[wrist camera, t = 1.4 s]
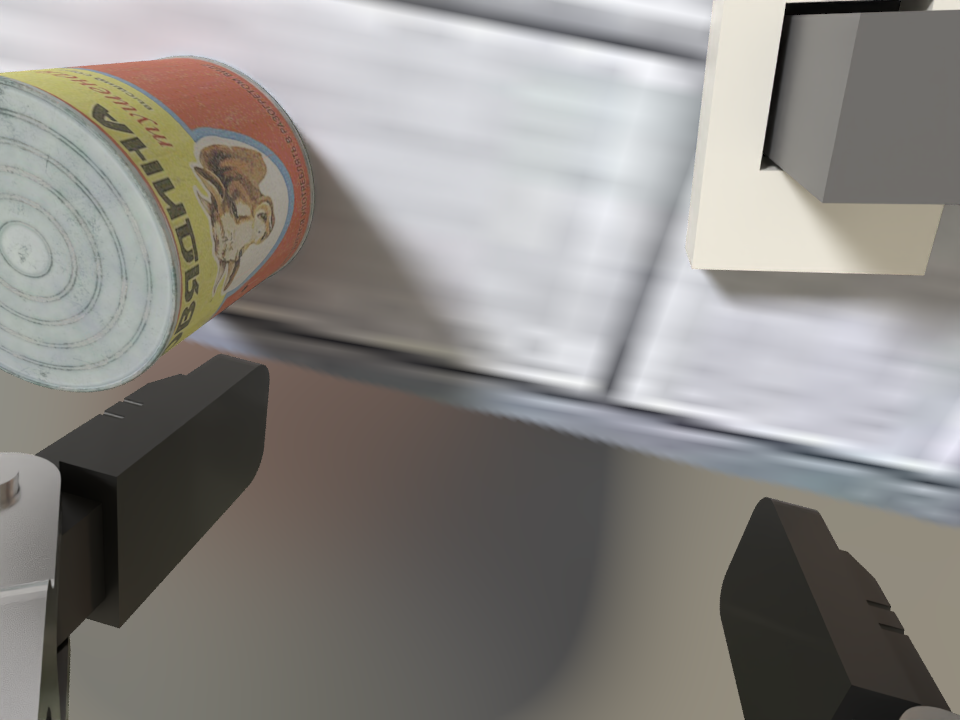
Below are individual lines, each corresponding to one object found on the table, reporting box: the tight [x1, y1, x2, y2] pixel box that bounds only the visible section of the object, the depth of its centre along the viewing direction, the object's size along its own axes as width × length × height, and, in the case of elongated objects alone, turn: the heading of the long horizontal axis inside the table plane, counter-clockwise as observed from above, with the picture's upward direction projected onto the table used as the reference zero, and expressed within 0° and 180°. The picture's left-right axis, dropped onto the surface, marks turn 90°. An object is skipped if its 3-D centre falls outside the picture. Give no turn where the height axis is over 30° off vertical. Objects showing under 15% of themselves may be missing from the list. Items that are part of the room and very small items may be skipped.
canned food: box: [0, 56, 314, 392], centre depth 28 cm, size 11×11×12 cm
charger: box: [763, 10, 960, 205], centre depth 23 cm, size 5×4×10 cm
